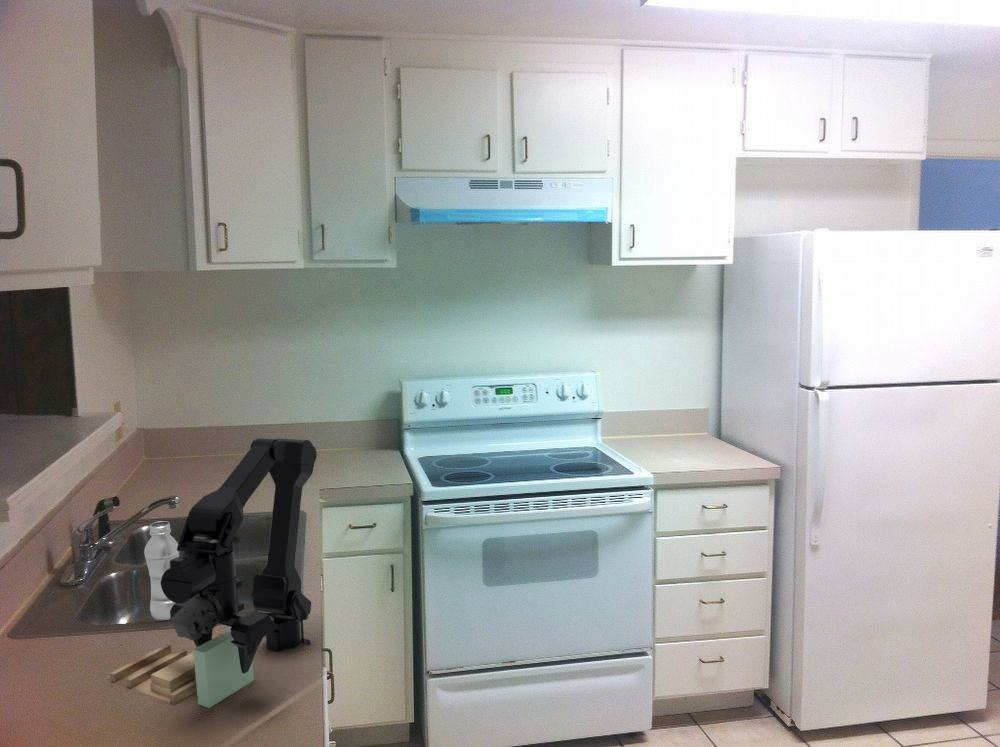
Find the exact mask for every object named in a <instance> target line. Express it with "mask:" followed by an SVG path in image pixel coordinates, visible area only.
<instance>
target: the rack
mask: <svg viewBox="0 0 1000 747" xmlns="http://www.w3.org/2000/svg"><path fill="white" fill-rule="evenodd" d="M187 655H188V650H187V649H185V648H183V649H181V650H179V651H177V652H175V653H173V652H172V645H171V644H168V643H166V644H164V645H162V646H160V647H159V648H156V649H154V650H152V651H150V652H148V653H147V654H144V655H143V656H140V657H139V658H137V659H135V660H133V661H131V662H129V663H126V664H125V665H123V666H121V667H119V668H117V669H115V670H113V671H112V672H110V675H109V676H110V681H111V682H112V683H115V684H118V685H120V686H124V687H126V688H128V689H131V690H133V691H137V692H140V693H142V694H146V695H148V696H150V697H153V698H156V699H158V700H161V701H164V702H167V703H168V704H172V705H177V704H178V703H180V702H182V701H183V700H185V699H186V698H189V697H190V696H191V695H193V694H194V693H197V685H196V679H195V680H194V681H192V682H190V683H188V684H187V685H185V686H183V687H181V688H180V689H178V690H176V691H174V692H173V693H171V694H169V695H170V698H169V697H166V696H163V695H160V694H158V693H155V692H152V691H151V687H150V683H151V682H152V680H151V674H153V673H155V672H157V671H159V670H161V669H163V668H164V667H166V666H168V665H170V664H172V663H174V662H176V661H177V660H179V659H181V658H183V657H185V656H187Z"/></svg>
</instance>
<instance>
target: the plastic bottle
mask: <svg viewBox="0 0 1000 747" xmlns="http://www.w3.org/2000/svg"><path fill="white" fill-rule="evenodd" d="M170 524H171V523H170V521H166V520H165V521H164V520H163V521H161V520H160V521H156V522H152V523H151V524H149V536H151V537H150V539H149V540H148V541H147V543H146V545H145V547H144V552H143V553H144V557H145V558H144V559H145V561H146V562H145V563H146V566H147V570H148V575H149V578H150V579H149V580H150V602H149V604H150V605H149V610H150V611H149V612H150V614H151V617H152V619H154V620H156V621H171V619H170V610H171V608H172V606H173V605H174V604H175V602H172V601H171V600H169V599H168V598H167V597H166V596H165V594H164V593H163V591H162V588H161V580H162V576H163V574H164V572H165V571H166V570H167V569H169V568H170V560H172V559H174V558H176V557H180V552H179V551H177V547H178V544H179V542H178V541H176V539H175V537H173V536H172V535H171V534H170V533H171V532H172V528H171V525H170Z"/></svg>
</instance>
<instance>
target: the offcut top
mask: <svg viewBox="0 0 1000 747" xmlns="http://www.w3.org/2000/svg"><path fill="white" fill-rule="evenodd" d="M193 676H195V664H194V654H193V651H192V652H191V653H188V654H187V656H185V657H183V658H181V659H179V660H177V661H176V662H174V663H172V664H170V665H168V666H166V667H164V668H163V669H161V670H159V671H157V672H155V673H153V674H151V680H152V683H153V684H156V685H159V686H162V687H164V688H167V689H170V690H171V689H172V688H174V687H176V686H178V685H179V684H181V683H183V682H185V681H186V680H188V679H190V678H192V677H193Z"/></svg>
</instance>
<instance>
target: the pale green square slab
mask: <svg viewBox="0 0 1000 747" xmlns="http://www.w3.org/2000/svg"><path fill="white" fill-rule="evenodd" d="M233 640H234V639H233V637H232V636H231V628H230V629H229V630H226V631H225V632H223V633H221V634H219V635H217V636H216V637H214V638H212V640H210V641H208V642H206V643H204V644H202V645H201V646H199V647H195V648H193V650H192V652H193V654H194V664H195V675H196V685H197V692H196V694H197V695H196V696H197V704H198V705H199V706H203V707H205V708H208V709H210V708H212V707H213V706H215V705H216V704H218V703H220V702H221V701H223V700H224V699H226V698H227V697H229V696H231V695H232V694H234V693H236V692H238V691H239V690H240V689H242V688H244V687H246V686H248V685H249V684H250V683H252V682H253V681H255V677H254V676H255V675H254V674H255V673H254V664H253V663H254V662H253V661H252V663H251V666H250V668H249V671H248V672H246V673H245V674H243V673H242V671H241V667H240V660H239V653H238V647H237V646H236V645H234V644H233V643H231V641H233Z"/></svg>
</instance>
